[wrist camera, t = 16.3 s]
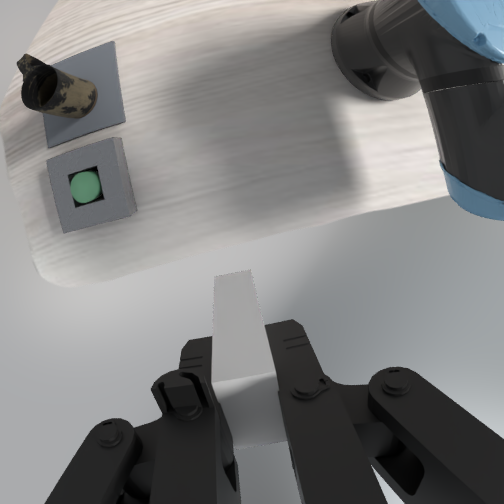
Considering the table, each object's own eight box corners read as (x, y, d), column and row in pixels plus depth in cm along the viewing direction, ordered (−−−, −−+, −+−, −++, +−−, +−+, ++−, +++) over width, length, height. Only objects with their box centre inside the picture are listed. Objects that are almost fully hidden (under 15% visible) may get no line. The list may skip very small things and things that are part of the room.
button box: (121, 138, 38) (112, 137, 34) (137, 210, 41) (130, 216, 37) (58, 159, 37) (46, 160, 34) (74, 227, 40) (63, 233, 37)
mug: (105, 101, 35) (65, 85, 24) (74, 127, 36) (28, 123, 24) (78, 61, 33) (36, 37, 21) (49, 87, 33) (1, 74, 22)
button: (101, 167, 37) (93, 168, 34) (107, 195, 38) (99, 198, 36) (77, 174, 37) (67, 177, 34) (83, 202, 38) (74, 206, 36)
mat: (114, 42, 33) (113, 40, 33) (125, 121, 37) (124, 121, 36) (40, 72, 33) (39, 71, 32) (50, 147, 37) (48, 147, 36)
